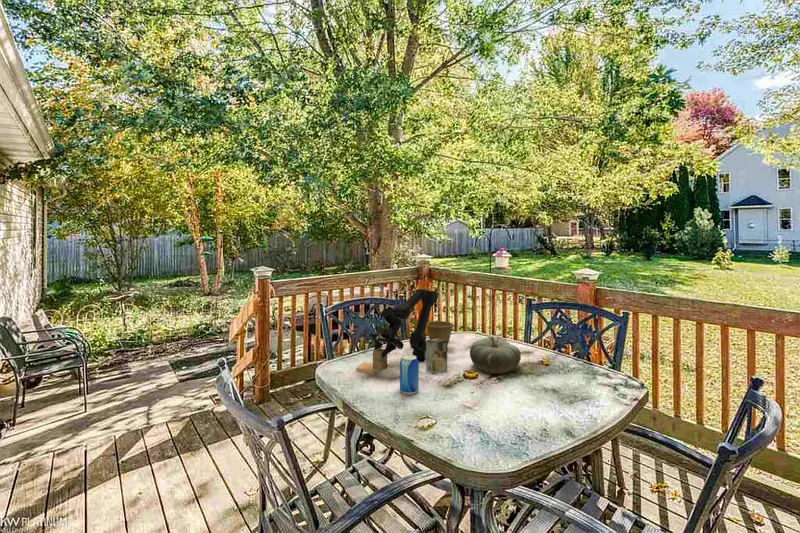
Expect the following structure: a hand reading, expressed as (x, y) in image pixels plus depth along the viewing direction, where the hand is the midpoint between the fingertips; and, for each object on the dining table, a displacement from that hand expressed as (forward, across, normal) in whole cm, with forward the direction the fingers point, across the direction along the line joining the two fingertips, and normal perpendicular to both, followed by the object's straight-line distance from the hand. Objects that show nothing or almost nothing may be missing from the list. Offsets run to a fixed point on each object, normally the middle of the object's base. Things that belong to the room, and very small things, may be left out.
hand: (378, 355), depth 201 cm
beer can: (+10, +22, +6) cm, 25 cm away
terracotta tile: (+5, -11, +11) cm, 17 cm away
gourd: (-25, +39, +42) cm, 62 cm away
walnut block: (+4, 0, +6) cm, 7 cm away
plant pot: (-30, -1, +46) cm, 55 cm away
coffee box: (-10, +17, +26) cm, 33 cm away
